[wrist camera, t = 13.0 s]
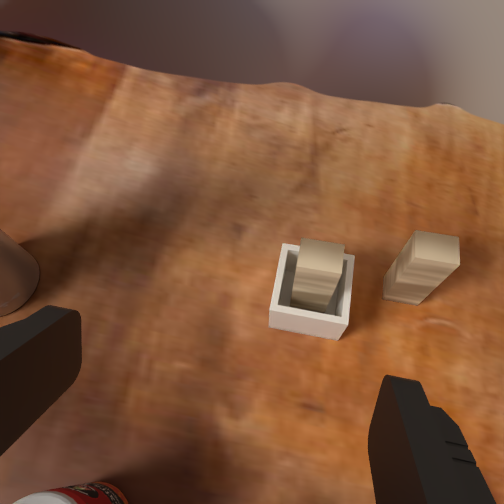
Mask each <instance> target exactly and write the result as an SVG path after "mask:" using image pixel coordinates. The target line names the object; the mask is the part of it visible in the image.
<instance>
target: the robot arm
mask: <svg viewBox="0 0 504 504" xmlns="http://www.w3.org/2000/svg"><path fill="white" fill-rule="evenodd" d="M39 274H40V272H39V266H38V264H37V261H36V260H35V259H34V257H33V256H32V255H31V254H29V253H28V252H27V251H26V250H25V249H23V248H22V247H21V246H20V245H19V244H17V243H16V242H15V241H14V240H13V239H12V238H11V237H9V236H8V235H7V234H6V233H5V232H3V231H2V230H1V229H0V316H4V315H6V314H9V313H11V312H13V311H15V310H16V309H18V308H19V307H21V306H22V305H23V304H24V303H25V302H26V301H27V300H28V299H29V298H30V297H31V295H32V294H33V292H34V291H35V289H36V287H37V284H38V281H39ZM81 363H82V346H81V316H80V313H79V312H78V311H76V310H72V309H67V308H62V307H57V306H52V305H48V306H45V307H44V308H42V309H40V310H39V311H37V312H35V313H34V314H32V315H31V316H29V317H27V318H26V319H23V320H20V321H18V322H15V323H12V324H9V325H6V326H3V327H1V328H0V456H1V455H2V454H3V453H4V452H5V451H6V450H7V449H8V448H9V447H10V446H11V445H12V444H13V443H14V442H15V441H16V440H17V439H18V438H19V437H20V436H21V435H22V434H23V433H24V432H25V431H26V430H27V429H28V428H29V427H30V426H31V425H32V424H33V423H34V422H35V421H36V420H37V419H38V418H39V417H40V416H41V415H42V414H43V413H44V412H45V411H46V410H47V409H48V408H49V407H50V406H51V405H52V404H53V403H54V402H55V401H56V400H57V399H58V398H59V397H60V396H61V395H62V394H63V393H64V392H65V391H66V390H67V389H68V388H69V387H70V386H71V385H72V384H73V383H74V381H75V380H76V378H77V376H78V374H79V371H80V368H81ZM368 454H369V461H370V467H371V474H372V480H373V486H374V492H375V499H376V504H496V502H495V500H494V498H493V496H492V494H491V492H490V490H489V488H488V486H487V484H486V482H485V480H484V477H483V475H482V473H481V471H480V469H479V467H476V461H475V459H474V457H473V455H472V453H471V451H470V450H468V445H467V443H466V440H465V438H464V436H463V434H462V432H461V430H460V428H459V426H458V425H457V424H456V423H455V422H454V421H453V420H452V419H451V418H450V417H449V416H448V415H447V414H446V412H445V411H444V410H443V409H442V408H439V407H434V406H430V404H429V402H428V400H427V397H426V395H425V392H424V390H423V388H422V385H421V383H420V382H419V381H416V380H411V379H406V378H401V377H396V376H391V375H385V377H384V378H383V381H382V384H381V388H380V391H379V395H378V399H377V402H376V406H375V409H374V413H373V417H372V420H371V424H370V428H369V435H368Z"/></svg>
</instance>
